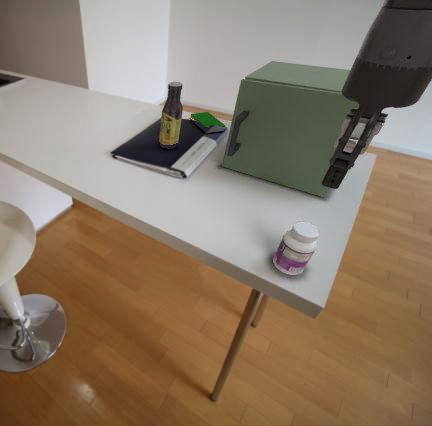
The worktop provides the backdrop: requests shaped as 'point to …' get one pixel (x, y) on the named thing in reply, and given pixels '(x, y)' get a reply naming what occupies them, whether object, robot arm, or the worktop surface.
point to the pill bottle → (296, 248)
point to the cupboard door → (285, 133)
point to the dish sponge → (206, 119)
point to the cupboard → (301, 76)
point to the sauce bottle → (171, 115)
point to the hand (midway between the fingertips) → (330, 183)
